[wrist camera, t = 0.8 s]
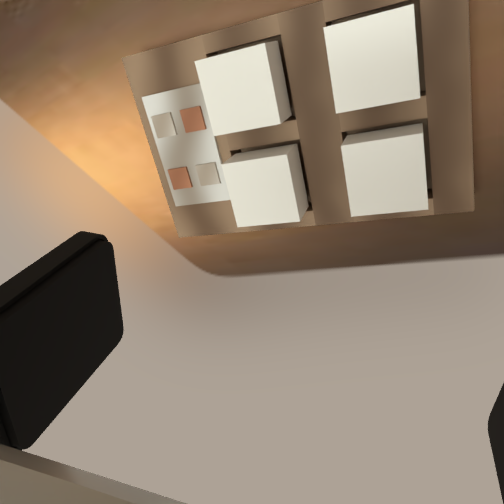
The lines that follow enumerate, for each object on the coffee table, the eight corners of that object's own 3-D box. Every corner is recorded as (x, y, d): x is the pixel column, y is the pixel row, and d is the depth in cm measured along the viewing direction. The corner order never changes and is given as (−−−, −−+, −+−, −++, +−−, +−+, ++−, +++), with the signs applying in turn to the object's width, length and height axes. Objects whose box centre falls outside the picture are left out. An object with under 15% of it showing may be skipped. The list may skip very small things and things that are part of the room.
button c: (277, 40, 28) (264, 42, 25) (291, 115, 29) (280, 124, 27) (212, 57, 29) (194, 61, 27) (229, 127, 31) (213, 136, 29)
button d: (297, 143, 30) (286, 154, 28) (308, 206, 32) (300, 221, 30) (235, 153, 32) (221, 164, 29) (250, 212, 34) (237, 227, 31)
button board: (462, -36, 25) (468, -42, 22) (470, 195, 31) (475, 214, 28) (143, 54, 34) (117, 58, 31) (194, 223, 39) (176, 240, 36)
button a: (413, 4, 24) (413, 3, 22) (420, 90, 26) (420, 98, 24) (331, 26, 26) (323, 27, 24) (342, 105, 28) (335, 113, 26)
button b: (422, 122, 27) (422, 132, 25) (427, 193, 29) (428, 209, 26) (347, 135, 29) (340, 145, 26) (356, 201, 31) (351, 216, 28)
